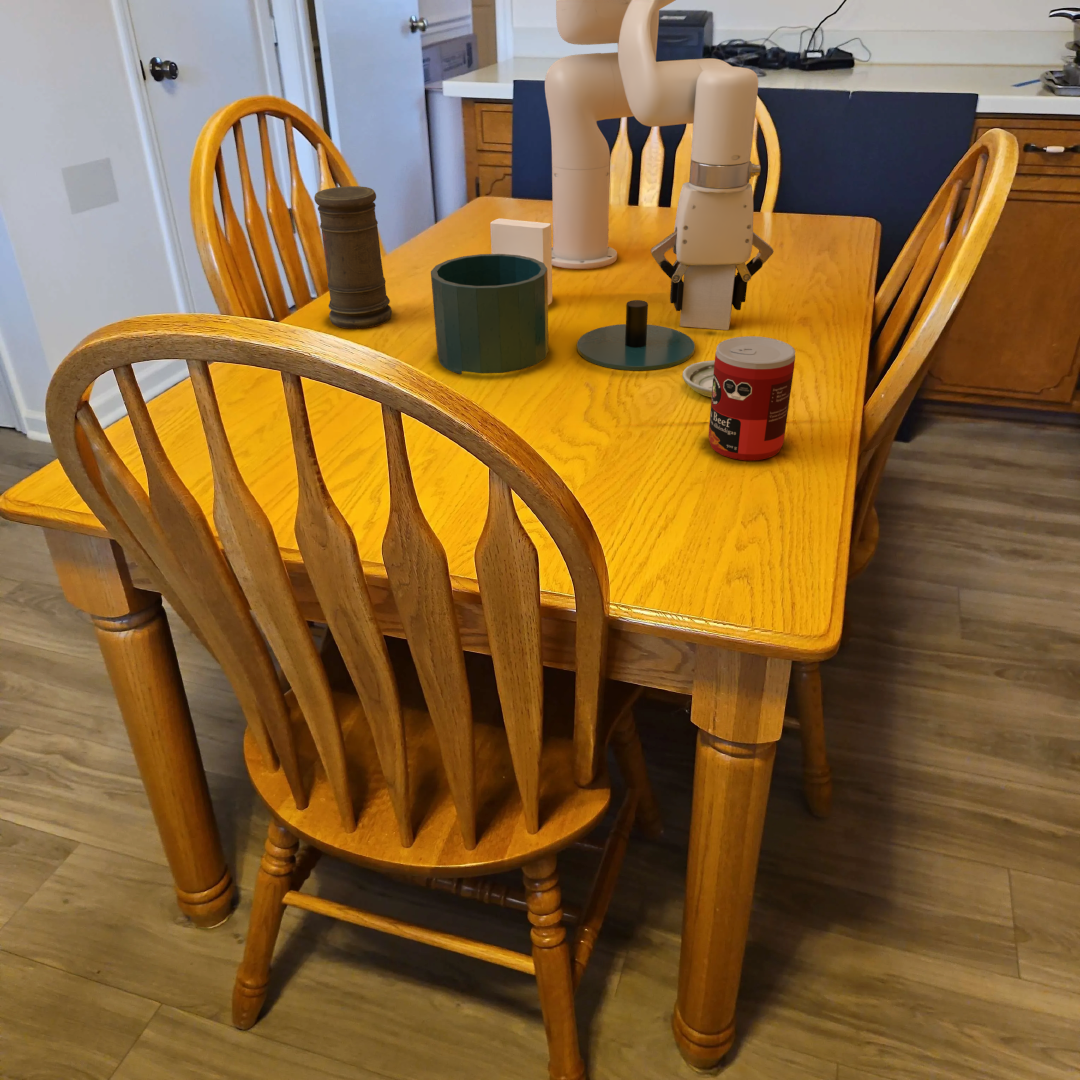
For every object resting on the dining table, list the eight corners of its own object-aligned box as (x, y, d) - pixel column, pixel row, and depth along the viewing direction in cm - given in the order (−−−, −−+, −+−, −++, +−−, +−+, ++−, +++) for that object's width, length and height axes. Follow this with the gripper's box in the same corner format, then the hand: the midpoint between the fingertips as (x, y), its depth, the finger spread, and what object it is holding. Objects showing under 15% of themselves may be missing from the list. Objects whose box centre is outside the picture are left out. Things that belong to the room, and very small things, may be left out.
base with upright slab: (561, 298, 143) (561, 218, 137) (537, 316, 136) (535, 233, 130) (509, 291, 146) (506, 213, 140) (483, 309, 140) (478, 228, 133)
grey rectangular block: (728, 330, 128) (736, 257, 123) (679, 326, 130) (685, 254, 124) (730, 320, 131) (738, 249, 126) (682, 317, 133) (688, 247, 127)
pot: (441, 337, 130) (435, 255, 124) (547, 335, 130) (546, 252, 124) (433, 378, 117) (425, 289, 111) (550, 375, 118) (548, 286, 111)
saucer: (744, 416, 106) (746, 396, 105) (667, 399, 111) (669, 380, 109) (774, 387, 113) (776, 368, 112) (700, 372, 118) (702, 354, 116)
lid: (574, 333, 130) (574, 286, 127) (684, 330, 130) (688, 283, 127) (580, 376, 117) (580, 325, 114) (703, 373, 117) (707, 322, 114)
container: (401, 311, 139) (389, 186, 130) (373, 332, 132) (358, 201, 122) (349, 306, 142) (332, 183, 132) (318, 326, 135) (299, 197, 125)
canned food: (700, 432, 103) (708, 337, 97) (770, 428, 104) (782, 333, 98) (717, 464, 97) (726, 365, 91) (792, 460, 97) (806, 360, 91)
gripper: (779, 167, 123) (763, 297, 133) (648, 169, 123) (641, 299, 132) (793, 180, 116) (775, 315, 126) (655, 182, 116) (647, 318, 126)
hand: (706, 306), depth 129 cm, fingers closed on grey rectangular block, 7 cm apart
